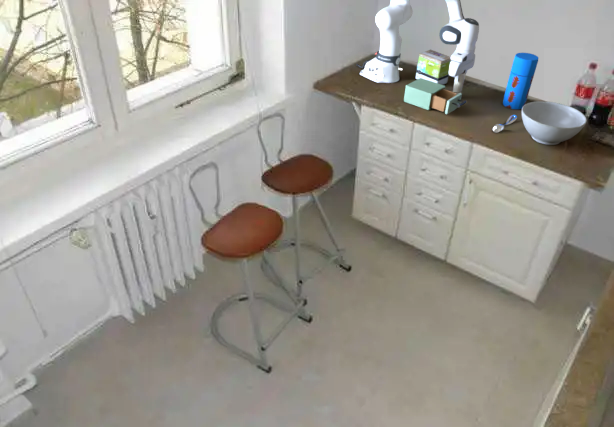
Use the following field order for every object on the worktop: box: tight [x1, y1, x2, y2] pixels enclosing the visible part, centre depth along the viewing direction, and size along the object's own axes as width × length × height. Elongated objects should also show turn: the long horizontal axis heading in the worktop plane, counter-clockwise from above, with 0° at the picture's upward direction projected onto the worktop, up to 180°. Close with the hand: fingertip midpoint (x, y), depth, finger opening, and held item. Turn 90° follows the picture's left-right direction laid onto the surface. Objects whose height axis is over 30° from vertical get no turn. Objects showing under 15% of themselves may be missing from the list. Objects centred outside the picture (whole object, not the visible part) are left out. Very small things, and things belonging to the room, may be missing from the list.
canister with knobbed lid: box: [451, 70, 467, 95], centre depth 265 cm, size 5×5×14 cm
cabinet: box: [403, 78, 446, 111], centre depth 262 cm, size 15×14×9 cm
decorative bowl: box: [521, 100, 588, 146], centre depth 232 cm, size 27×27×12 cm
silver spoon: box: [492, 114, 518, 134], centre depth 244 cm, size 20×4×5 cm
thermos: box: [502, 52, 539, 110], centre depth 257 cm, size 11×11×25 cm
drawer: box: [430, 88, 467, 115], centre depth 255 cm, size 18×12×7 cm
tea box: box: [415, 49, 451, 85], centre depth 282 cm, size 15×10×15 cm, turn 41°
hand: (459, 80), depth 265 cm, fingers closed on canister with knobbed lid, 4 cm apart
